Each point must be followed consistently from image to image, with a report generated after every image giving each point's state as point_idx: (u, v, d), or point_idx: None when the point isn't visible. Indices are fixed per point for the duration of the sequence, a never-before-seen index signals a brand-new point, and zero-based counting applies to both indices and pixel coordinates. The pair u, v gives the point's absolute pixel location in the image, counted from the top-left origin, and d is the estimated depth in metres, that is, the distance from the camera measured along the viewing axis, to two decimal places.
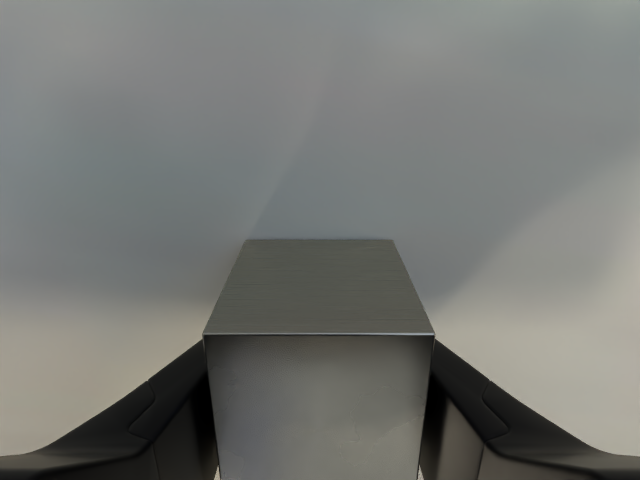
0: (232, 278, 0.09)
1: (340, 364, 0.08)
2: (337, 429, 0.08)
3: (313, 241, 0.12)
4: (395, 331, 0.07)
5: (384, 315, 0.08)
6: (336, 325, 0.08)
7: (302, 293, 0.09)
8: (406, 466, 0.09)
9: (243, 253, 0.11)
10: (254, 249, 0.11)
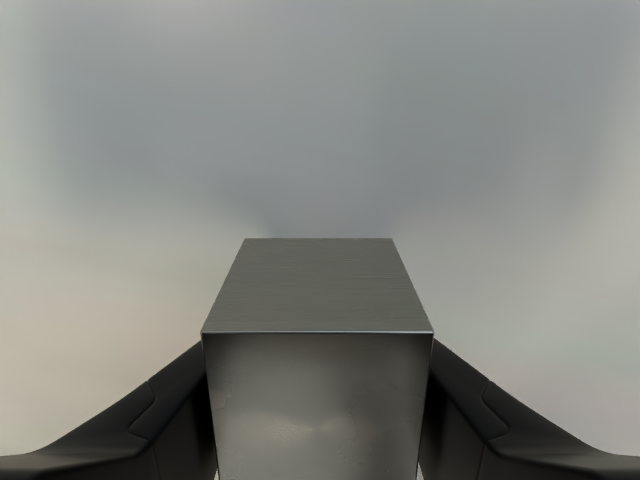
0: (231, 276, 0.09)
1: (339, 362, 0.08)
2: (335, 427, 0.08)
3: (312, 239, 0.12)
4: (393, 328, 0.07)
5: (383, 313, 0.08)
6: (334, 323, 0.08)
7: (300, 291, 0.09)
8: (405, 465, 0.09)
9: (242, 251, 0.11)
10: (252, 248, 0.11)
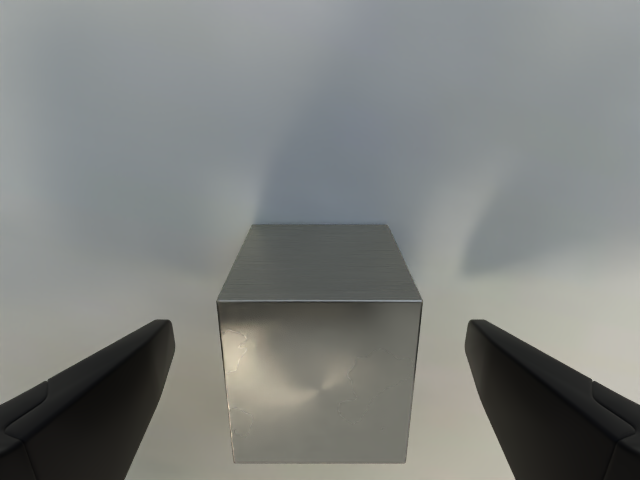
0: (241, 256, 0.10)
1: (338, 328, 0.09)
2: (336, 388, 0.09)
3: (314, 226, 0.13)
4: (387, 298, 0.08)
5: (378, 286, 0.09)
6: (335, 294, 0.09)
7: (304, 268, 0.10)
8: (398, 423, 0.10)
9: (250, 236, 0.12)
10: (260, 232, 0.12)
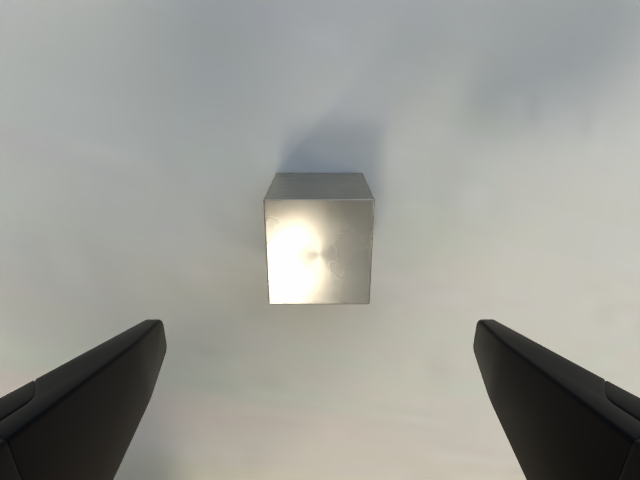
0: (272, 185, 0.18)
1: (329, 215, 0.16)
2: (328, 253, 0.16)
3: (315, 173, 0.20)
4: (355, 198, 0.16)
5: (351, 195, 0.16)
6: (327, 197, 0.16)
7: (310, 189, 0.17)
8: (363, 276, 0.17)
9: (276, 177, 0.19)
10: (281, 176, 0.19)
